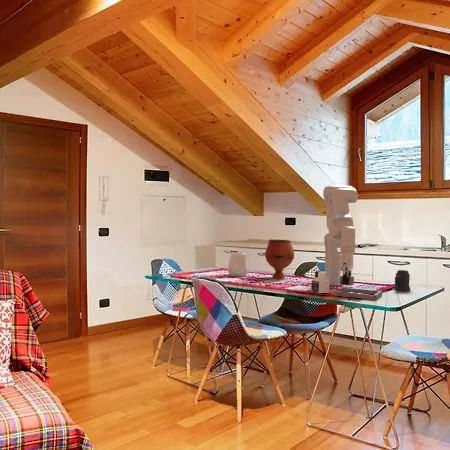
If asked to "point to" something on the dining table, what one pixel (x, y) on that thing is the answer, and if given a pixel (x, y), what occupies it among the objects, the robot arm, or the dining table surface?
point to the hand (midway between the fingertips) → (346, 283)
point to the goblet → (279, 256)
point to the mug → (402, 281)
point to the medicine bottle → (320, 283)
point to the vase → (238, 264)
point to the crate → (351, 280)
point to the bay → (364, 296)
